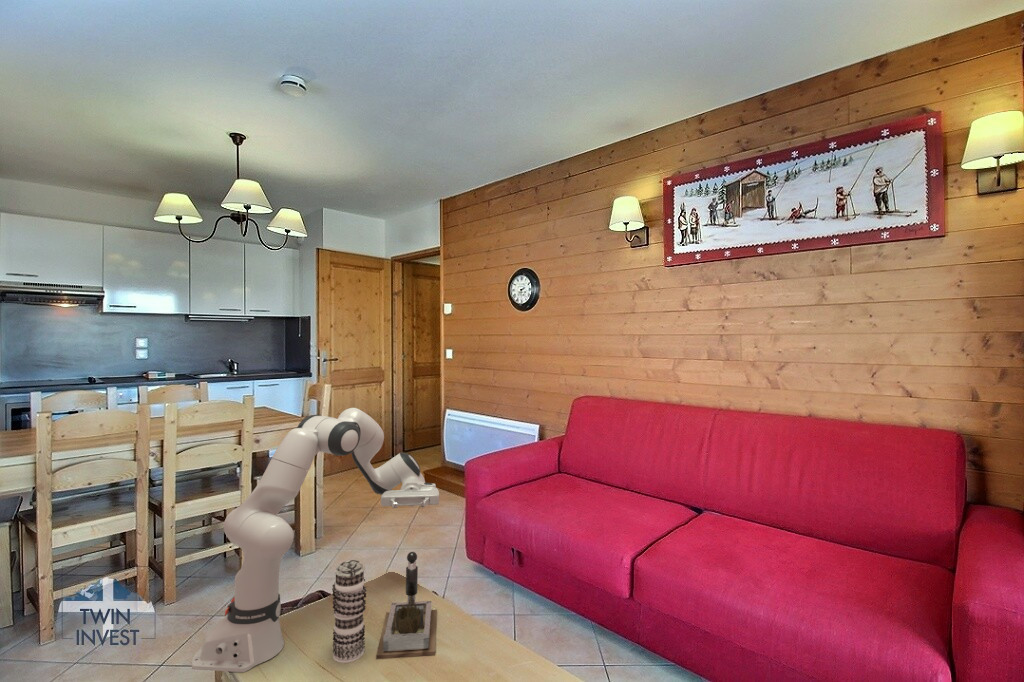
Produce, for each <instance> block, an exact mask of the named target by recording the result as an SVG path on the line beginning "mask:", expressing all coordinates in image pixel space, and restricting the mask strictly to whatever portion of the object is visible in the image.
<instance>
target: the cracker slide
mask: <svg viewBox="0 0 1024 682" xmlns="http://www.w3.org/2000/svg"><path fill="white" fill-rule="evenodd" d="M406 560H407V566H406V567H405V569H406V570H405V575H406V576H405V595H406V596H407V602H406V601H405V602H391V605H390V609H389V612H390V613H389V617H388V622H387V627H386V631H385V635H384V637H383V652H389V651H404V650H419V649H429V637H430V622H431V610H432V600H426V601H416V595H418V581H419V580H418V576H419V575H418V571H419V569H418V568H419V567H418V566H417V564H416V563H417V560H418V554H417V553H416V552H415V551H410V552H408V554H407V556H406ZM408 605H409V606H412V605H413V606H423V613H426V615H425V627H424V629H423V632H416V633H407V634H400V633H394V634H392V632H393V627H394V622H395V617H396V610H397V607H402V606H405V607H407V606H408Z"/></svg>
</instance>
